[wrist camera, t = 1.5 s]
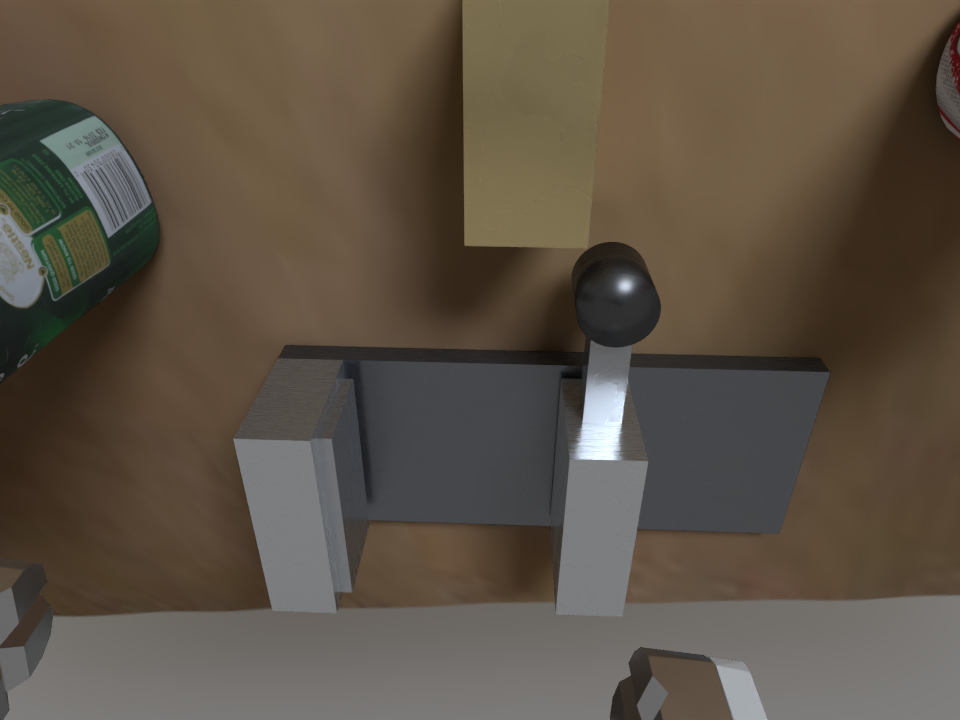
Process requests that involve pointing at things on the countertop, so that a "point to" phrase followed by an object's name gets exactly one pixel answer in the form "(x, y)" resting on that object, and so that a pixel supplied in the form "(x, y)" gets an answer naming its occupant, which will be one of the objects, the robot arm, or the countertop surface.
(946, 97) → the soda can
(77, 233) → the coffee jar
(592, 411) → the lever
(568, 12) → the brass block
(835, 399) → the countertop surface
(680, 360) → the vise bed
